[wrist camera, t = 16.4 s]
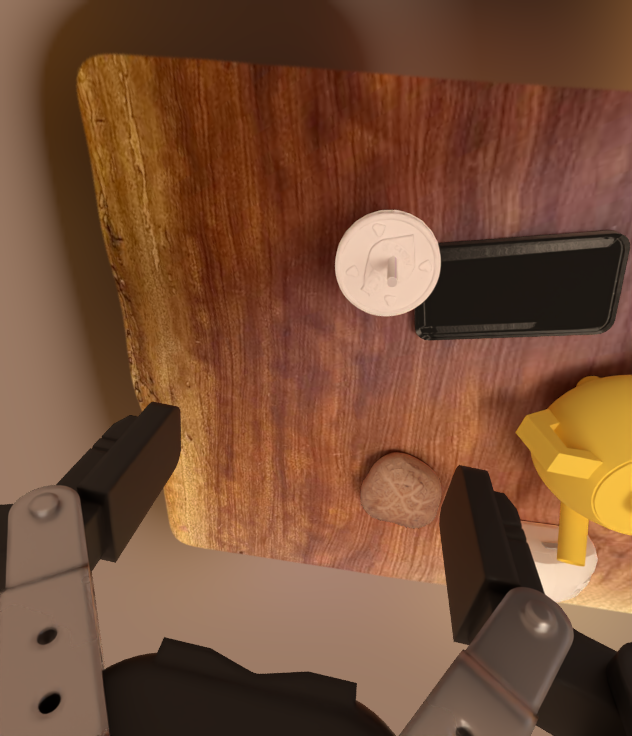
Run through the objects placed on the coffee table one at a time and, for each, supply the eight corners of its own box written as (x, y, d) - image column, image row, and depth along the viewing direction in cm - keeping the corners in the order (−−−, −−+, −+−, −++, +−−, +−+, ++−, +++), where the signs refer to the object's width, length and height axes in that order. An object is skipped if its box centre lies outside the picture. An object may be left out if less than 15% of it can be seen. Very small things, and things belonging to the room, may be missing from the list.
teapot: (617, 528, 45) (678, 637, 35) (453, 465, 45) (468, 559, 35) (783, 366, 35) (931, 457, 26) (574, 284, 35) (643, 345, 25)
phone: (414, 248, 34) (633, 232, 31) (413, 244, 35) (626, 228, 32) (415, 341, 38) (612, 335, 35) (414, 336, 39) (606, 329, 36)
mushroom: (431, 519, 48) (463, 482, 43) (401, 560, 45) (432, 525, 39) (376, 473, 51) (399, 433, 45) (343, 508, 47) (364, 468, 42)
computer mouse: (576, 570, 49) (599, 626, 43) (453, 552, 50) (460, 604, 45) (595, 528, 46) (623, 582, 40) (464, 511, 47) (473, 561, 42)
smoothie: (448, 226, 34) (477, 280, 22) (394, 289, 37) (393, 368, 25) (383, 172, 33) (375, 198, 21) (332, 242, 36) (299, 300, 24)
